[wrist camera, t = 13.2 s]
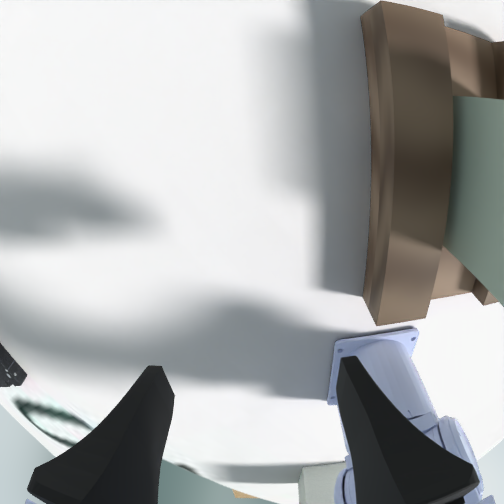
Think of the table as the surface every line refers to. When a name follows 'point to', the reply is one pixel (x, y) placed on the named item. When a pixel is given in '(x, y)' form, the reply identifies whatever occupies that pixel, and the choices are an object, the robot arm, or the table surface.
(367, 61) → the slot stand
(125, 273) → the table surface
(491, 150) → the pale green block
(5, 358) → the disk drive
